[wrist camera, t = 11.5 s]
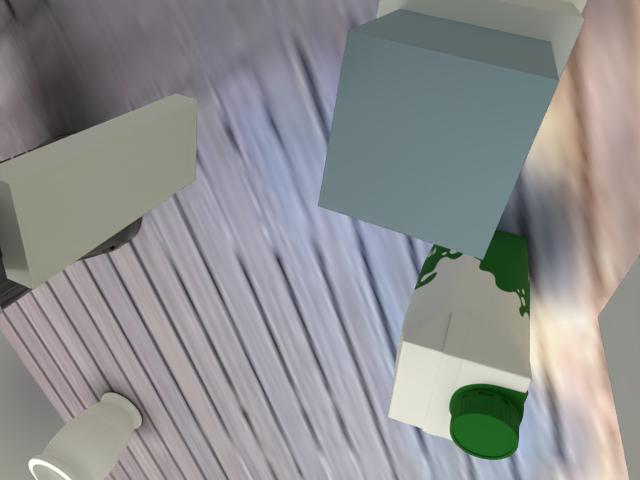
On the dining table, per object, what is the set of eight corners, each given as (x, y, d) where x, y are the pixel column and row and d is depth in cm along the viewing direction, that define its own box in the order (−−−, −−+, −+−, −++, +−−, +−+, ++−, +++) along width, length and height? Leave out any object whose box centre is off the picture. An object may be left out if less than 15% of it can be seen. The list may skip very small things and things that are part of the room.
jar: (89, 391, 86) (17, 462, 74) (120, 382, 80) (48, 457, 68) (125, 432, 89) (61, 507, 77) (158, 427, 83) (95, 507, 71)
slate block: (369, 145, 27) (318, 205, 20) (399, 8, 23) (348, 30, 16) (495, 181, 25) (482, 259, 19) (550, 41, 21) (559, 80, 15)
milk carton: (514, 306, 46) (505, 493, 30) (422, 283, 49) (369, 444, 33) (540, 230, 42) (546, 402, 26) (437, 208, 44) (384, 352, 28)
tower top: (383, 115, 34) (348, 153, 27) (417, -29, 29) (384, -24, 22) (512, 150, 32) (507, 200, 25) (572, 2, 27) (585, 18, 20)
